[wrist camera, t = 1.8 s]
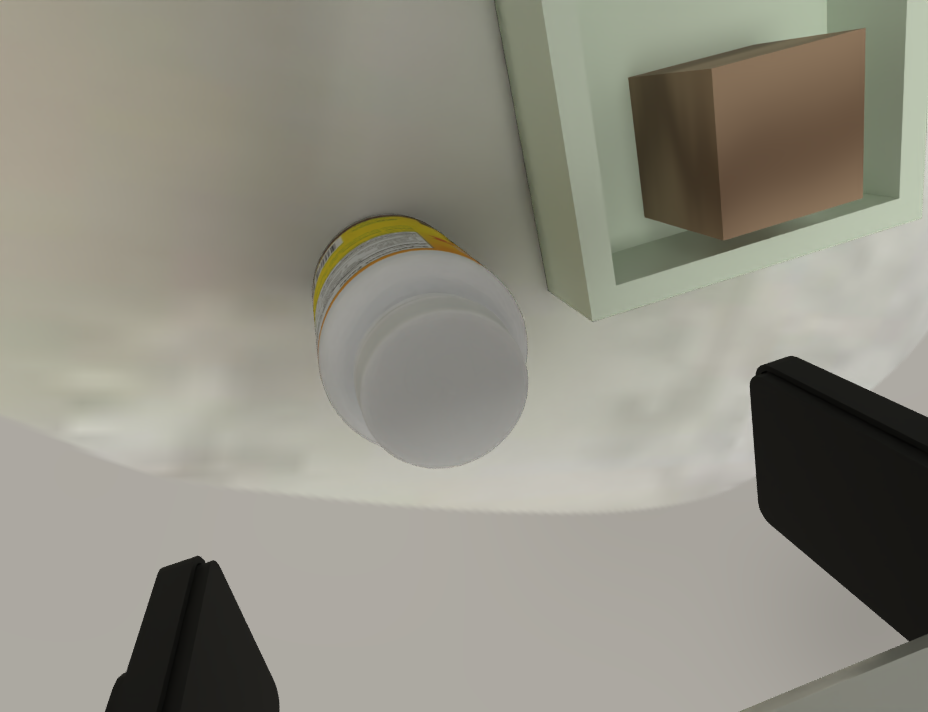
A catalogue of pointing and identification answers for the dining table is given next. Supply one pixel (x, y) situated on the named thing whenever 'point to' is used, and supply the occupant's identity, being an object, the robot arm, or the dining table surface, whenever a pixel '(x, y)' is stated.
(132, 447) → the dining table surface
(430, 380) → the supplement bottle
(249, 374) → the dining table surface
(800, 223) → the tote
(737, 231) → the walnut block
